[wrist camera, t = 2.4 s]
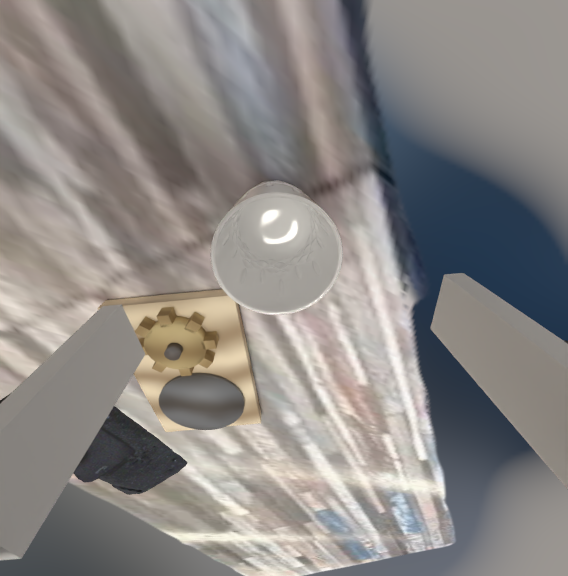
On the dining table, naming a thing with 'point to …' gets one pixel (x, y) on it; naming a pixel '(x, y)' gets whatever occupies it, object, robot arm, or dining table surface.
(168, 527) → the dining table surface
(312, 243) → the white cup
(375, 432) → the dining table surface
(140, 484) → the dark slate chunk
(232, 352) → the gear board
